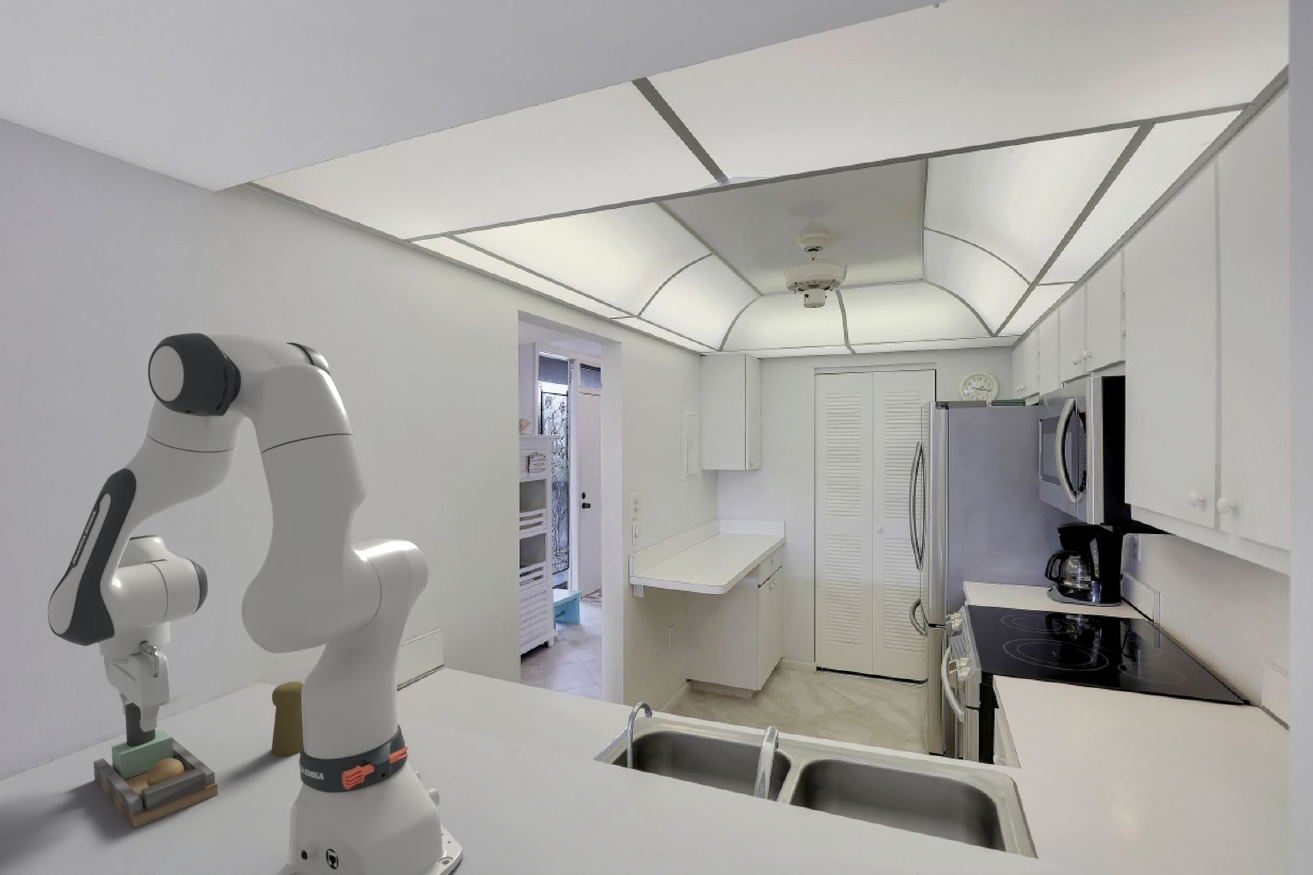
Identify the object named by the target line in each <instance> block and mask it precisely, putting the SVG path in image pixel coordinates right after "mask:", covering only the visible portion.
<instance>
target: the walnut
mask: <svg viewBox="0 0 1313 875" xmlns="http://www.w3.org/2000/svg"><path fill="white" fill-rule="evenodd" d="M183 773H184V767H183V765H182V763H181V762H180V761H179V760H177V759H173V758H167V759H163V760H161V761H159V762H157V763H156V764H155V765H154V766H153V767H152V768H151V769H150V771H149V772H148V775H147V784H148V786H152V785H155V784H157V783H160V782H162V781H165V780H168V779H170V778H173V777H176V776H178V775H181V774H183Z"/></svg>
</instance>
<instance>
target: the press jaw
mask: <svg viewBox="0 0 1313 875" xmlns="http://www.w3.org/2000/svg"><path fill="white" fill-rule="evenodd" d="M124 716H125V733H126V734H125V735H126V741H123V742H119V743H115V744H113V745H111V759H112V761H111V762H112V764H113V769H114V770H115V771H116V772H117V773H118V775H119V776H120V777H121V778H122V779H123V780H124V779H127V778H130V777H132V776H135V775H138V774H141V773H144V772H146V771H149V770H150V769H151V768H152V767H153V766H154V765H155V764H156V763H157V762H159V761H161V760H163V759H167V758H173V743H172V738H173V737H172V736H171V735H170V734H169V733H168V732H166V731H165V730H164V729H159V730H156V728H155V729H154V730H150V731H147V732H143V731H142V730H141V729H140V719H141V711H140V708H139V707H138V706H137V705H136V704H135V703H133V702H132V703H130V704H128V705H126V706H125V715H124ZM112 764H111V765H112Z"/></svg>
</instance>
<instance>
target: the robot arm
mask: <svg viewBox="0 0 1313 875" xmlns="http://www.w3.org/2000/svg"><path fill="white" fill-rule="evenodd" d="M149 357H150V358H149V360H148V366H147V377H148V382H149V386H150V389H151V392H152V394H153V395H154V397H155V400H154V402H153V406H152V409H151V413H150V417H149V420H148V424H147V427H146V433H145V438H144V440H143V442H142V445H141V446H140V448H139V449H138V450H137V453H136V454H135V455H134V456H133V457H132V459H131V460H130V461H129V462H128V463H127V464H126V465H125V466H124V467H122V468H121V469H119V470H117V471H115V472H114V473H112V474H110V476H109V477H108V478H107V479H106V480H105V483H104V484H103V486H102V488H101V489H100V492H99V493H98V496H97V498H96V500H95V502H94V505H93V506H92V508H91V512H90V513H89V516H88V519H87V520H86V521H87V522H86V523H85V526H84V528H83V531H82V533H81V536H80V538H79V540H78V543H77V545H76V548H75V549H74V553H73V555H72V557H71V559H70V563H69V565H68V566H67V569H66V570H65V572H64V575H63V576H62V577H61V579H60V580H59V582H58V583H57V585H56V586H55V588H54V590H53V592H52V594H51V596H50V598H49V602H48V608H47V618H48V619H47V620H48V625H49V628H50V630H51V632H52V633H53V634H54V635H55V636H57V637H58V638H60V639H62V640H64V641H66V642H70V643H72V644H74V645H79V646H83V647H87V646H91V645H93V644H97V643H98V645H99V654H100V655H101V656H103V661H104V668H105V675H106V677H107V681H108V683H109V684H110V685H111V686H113V687H114V688H115V689H116V690H117V691H118V694H119V697H120V702H121V704H122V714H123V715H124V716H125V706H126V705H128V704H130V703H132V702H133V703H135V704H136V705H137V706H138V707H139V708H140V711H141V719H140V729H141V730H142V731H143V732H147V731H150V730H154V729H155V730H156V728H157V726H158V722H157V720H158V719H157V718H158V714H159V710H160V707H162V706H164V705H168V704H169V703H170V700H171V698H172V697H171V696H172V692H171V690H172V689H171V678H170V677H171V676H170V670H169V663H168V659H167V657H166V655H165V654H164V653H163V652H162V647H164V646H166V645H168V644H169V643H170V642H171V637H172V636H171V622H174V621H177V620H181V619H184V618H187V617H189V616H192V615H195V614H196V613H197V612H198V611H199V610H200V609H201V607H202V606H203V604H204V602H205V600H206V598H207V597H208V591H209V589H208V588H209V586H208V585H209V583H208V575H207V572H206V571H205V569H204V568H203V567H202V566H201V565H199V564H198V563H197V562H195V561H194V560H192V559H189V558H182V557H179V556H178V555H176V554H174V553H172V552H171V551H170V550H168V549H167V547H166V545H165V544H166V543H165V542H164V540H163V538H162V537H160V536H159V535H154V534H150V535H149V534H148V535H140V536H139V535H138V536H132V534H133V533H134V531H136V529H137V528H138V527H139V526H140V525H141V524H142V523H143V522H145V521H146V520H148V519H150V518H151V517H153V516H155V515H157V514H159V513H162V512H164V511H165V510H167V509H170V508H172V507H175V506H177V505H179V504H182V503H185V502H188V501H191V500H193V499H197V498H200V497H202V496H204V495H207V494H208V493H211V491H213V490H215V489H216V488H217V487H218V486H220V485H222V483H224V481H225V480H226V479H227V478H228V476H229V475H230V473H231V472H232V470H233V467H234V465H235V462H236V457H237V453H238V449H239V444H240V439H241V434H242V429H243V422H244V420H245V418H248V419H249V420H250V421H251V422H252V424H253V427H254V429H255V435H256V440H257V445H258V450H259V454H260V458H261V461H262V466H263V469H264V475H265V479H266V484H267V489H268V494H269V499H270V504H271V509H272V529H271V538H270V544H269V547H268V551H267V555H266V557H265V559H264V562H263V565H262V566H261V568H260V570H259V571H258V572H257V574H256V576H255V577H254V578H253V579H252V580H251V582H250V583H249V584H248V586H247V588H246V590H245V591H244V595H243V598H242V602H241V619H242V624H243V626H244V629H245V631H246V633H247V635H248V636H249V638H250V640H252V641H253V642H254V643H255V644H256V645H257V646H258V647H259V648H260V649H263V650H264V651H266V652H269V653H272V654H286V653H293V652H299V651H305V650H310V649H314V648H318V647H321V646H323V645H325V647H324V650H323V651H322V654H321V655H320V658H319V660H318V661H317V663H316V664H315V666H314V667H313V668H312V669H311V671H310V672H309V673H308V675H307V677H306V678H305V680H304V682H303V684H304V685H303V688H302V694H301V700H302V722H303V746H302V747H301V750H300V752H299V760H298V768H299V771H300V776H299V777H300V780H301V782H302V784H301V788H300V790H299V793H298V796H297V797H296V799H295V801H294V803H293V804H292V807H291V808H290V812H289V831H288V832H289V835H288V863H287V865H286V866H284V868H283V869H282V870H281V871H280V872H279V873H278V875H447V874H449V873H450V872H451V871H452V870H453V869H454V870H455V869H456V868H457V867H456V866H458V865H459V864H460V863H459V862H461V861H462V859H463V857H464V851H463V847H462V846H461V845H460V843H459V842H458V841H457V840H456V839H455V838H454V836H452V835H451V833H449V831H448V830H447V829H446V828H445V827H444V826H443V825H442V824H441V819H440V818H441V817H440V813H439V810H438V808H437V807H438V806H439V805H440V794H439V792H438V790H437V788H435V787H431V788H429V789H427V790H426V788H425V787H424V785H423V783H422V782H421V774H420V772H419V771H418V770H415V771H414V770H413V768H412V767H411V765H410V763H409V761H407V760H408V756H409V754H408V752H407V751H408V750H409V747H408V746H406V745H405V744H406V739H405V737H404V735H403V732H402V729H401V726H400V724H399V723H398V701H397V700H398V699H397V698H398V690H397V689H398V687H397V681H398V680H397V679H398V668H399V667H398V666H399V659H400V654H401V649H402V646H403V640H404V637H405V633H406V629H407V625H408V622H409V620H410V617H411V614H412V612H413V610H414V607H415V605H416V603H417V602H418V600H419V598H420V597H421V596H422V594H423V593H424V591H425V589H426V587H427V584H428V581H429V566H428V562H427V559H426V557H425V555H424V553H423V552H422V550H421V549H420V548H419V547H418V546H417V545H416V544H414V543H413V542H411V541H409V540H406V539H401V538H399V539H397V538H372V539H368V540H364V541H360V542H355V543H352V526H353V525H352V523H353V520H354V517H355V516H354V515H355V512H356V510H357V509H358V508H359V507H360V506H361V505H362V503H363V502H364V501H365V499H366V496H367V494H368V492H367V491H368V484H367V482H366V478H365V474H364V470H363V466H362V462H361V458H360V454H359V450H358V448H357V443H356V438H355V436H354V432H353V429H352V428H353V427H352V425H351V422H350V419H349V416H348V412H347V410H346V407H345V405H344V402H343V400H342V398H341V396H340V393H339V392H338V389H337V388H336V386H335V383H334V382H333V379H332V378H331V376H332V375H331V371H330V367H329V364H328V362H327V360H326V359H325V358H324V356H323V355H322V354H321V353H320V352H318V351H317V350H316V349H313V348H311V347H310V346H307V345H303V344H301V343H300V344H299V343H296V342H281V341H277V340H272V339H265V338H258V337H254V336H251V335H236V334H203V333H200V332H190V333H189V332H188V333H180V334H174V335H170V336H167V337H164V338H163V339H162V340H161V341H160V342H159V343H158V344H157V345H156V347H155V348H154V349H153V351H152V353H151V355H150V356H149ZM460 860H461V861H460ZM458 863H459V864H458ZM457 864H458V865H457ZM455 867H456V868H455ZM454 870H453V871H454ZM453 871H452V872H453ZM452 872H451V873H452ZM451 873H450V874H451ZM450 874H449V875H450Z"/></svg>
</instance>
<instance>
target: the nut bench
mask: <svg viewBox="0 0 1313 875" xmlns="http://www.w3.org/2000/svg"><path fill="white" fill-rule="evenodd" d="M172 743H173V759H177V760H179V761H180V762H181V763H182V765H183V767H184V773H183V774H181V775H178V776H176V777H173V778H170V779H168V780H165V781H162V782H160V783H157V784H155V785H152V786H148V784H147V775H148V772H149V771H150V770H149V771H146V772H144V773H141V774H138V775H135V776H132V777H130V778H127V779H124V780H123V779H122V778H121V777H120V776H119V775H118V773H117V772H116V771H115V770H114V769H113V764H109V762H108V761H107V760H106V759H105V758H99V759H96V760H93V776H94V781H95V782H96V783H97V785H98V786H99V787H100V789H102V791H103V792H104V793H105V795H106V796H107V797H108V798H109V799H110V800H111V801H112V803H113V804H114V805H115V806H116V808H117V809H118V810H119V811H120V812H121V814H122V815H123V816H124V818H125V819H126V820H127V821H128V823H129V824H130V825H131V826H132V827H133V829H137V828H139V827H141V826H145V825H146V824H149V823H150V822H154V821H156V820H158V819H161V818H163V817H165V816H168V815H171V814H172V813H176V812H178V811H180V810H182V809H185V808H188V807H190V806H192V805H195V804H197V803H199V802H202V801H205V800H207V799H210V798H212V797H214V796H216V795H219V794H218V793H219V791H218V790H219V788H218V783H217V782H216V776H215V775H216V773H215V771H213V770H212V769H211V768H209V767H208V766H207V765H206V764H205V763H204V762H202V761H201V760H200V759H198V758H197V756H195V755H194V754H192V753H191V751H189V750H188V749H187V748H186V747H184V746H183V745H181V744H180V743H179V742H178V741H176V740H175V739H174V738H173V737H172Z"/></svg>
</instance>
